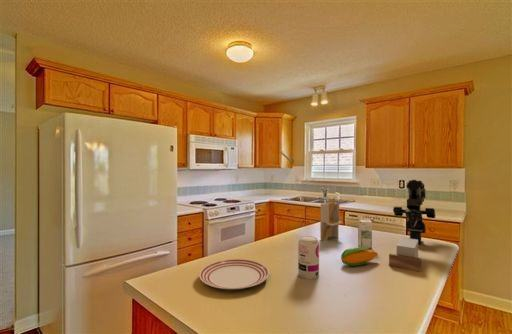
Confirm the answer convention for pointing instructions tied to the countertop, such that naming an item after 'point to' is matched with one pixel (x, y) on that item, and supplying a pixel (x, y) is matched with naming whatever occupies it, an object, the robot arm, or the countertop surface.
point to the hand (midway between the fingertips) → (413, 226)
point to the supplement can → (308, 257)
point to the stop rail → (405, 262)
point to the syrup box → (365, 233)
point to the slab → (408, 247)
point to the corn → (357, 256)
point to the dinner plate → (234, 274)
